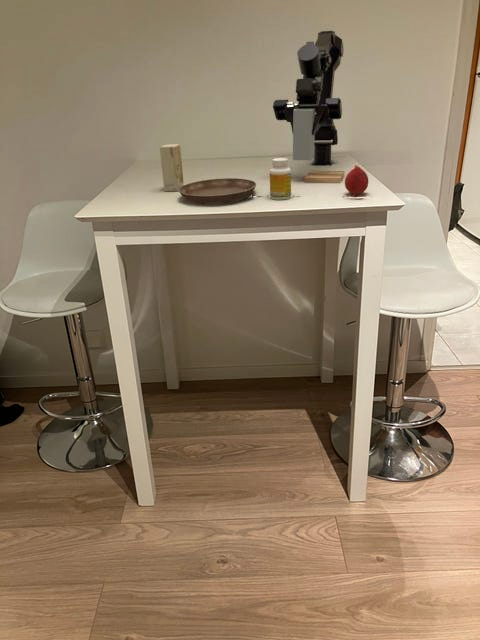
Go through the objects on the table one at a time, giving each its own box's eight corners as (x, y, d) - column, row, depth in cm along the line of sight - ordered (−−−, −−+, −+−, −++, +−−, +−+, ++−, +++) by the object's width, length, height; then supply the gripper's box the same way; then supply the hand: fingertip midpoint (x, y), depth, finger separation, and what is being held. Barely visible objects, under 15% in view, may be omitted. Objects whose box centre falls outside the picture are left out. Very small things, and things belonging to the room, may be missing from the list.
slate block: (296, 156, 151) (297, 108, 145) (313, 157, 149) (315, 108, 143) (292, 160, 147) (293, 110, 141) (310, 160, 145) (311, 110, 139)
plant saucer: (173, 209, 131) (172, 195, 130) (185, 191, 150) (184, 179, 148) (255, 206, 130) (255, 192, 129) (257, 188, 149) (256, 176, 147)
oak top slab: (310, 175, 156) (310, 170, 155) (344, 176, 153) (344, 171, 153) (304, 183, 148) (304, 177, 147) (340, 183, 145) (340, 177, 144)
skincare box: (178, 191, 148) (174, 146, 143) (163, 191, 149) (158, 147, 144) (184, 186, 154) (180, 143, 149) (170, 186, 155) (166, 143, 149)
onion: (367, 194, 134) (369, 162, 131) (367, 199, 129) (369, 166, 126) (344, 194, 136) (345, 162, 132) (343, 199, 131) (345, 166, 127)
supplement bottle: (289, 200, 133) (289, 160, 128) (268, 200, 134) (267, 161, 129) (292, 195, 137) (292, 157, 133) (271, 195, 138) (271, 157, 134)
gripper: (273, 68, 144) (264, 115, 139) (342, 64, 138) (334, 113, 134) (281, 97, 154) (272, 141, 149) (345, 94, 148) (338, 141, 144)
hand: (303, 134), depth 144 cm, fingers closed on slate block, 5 cm apart
